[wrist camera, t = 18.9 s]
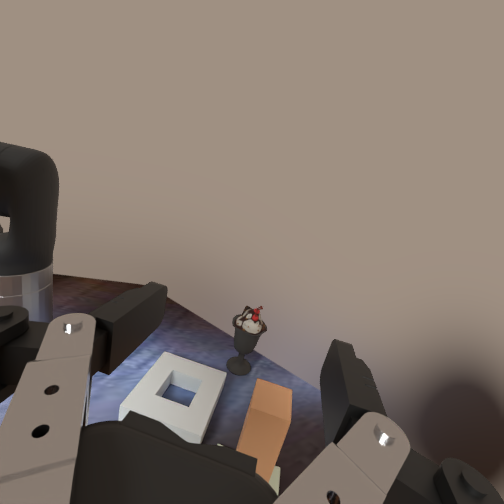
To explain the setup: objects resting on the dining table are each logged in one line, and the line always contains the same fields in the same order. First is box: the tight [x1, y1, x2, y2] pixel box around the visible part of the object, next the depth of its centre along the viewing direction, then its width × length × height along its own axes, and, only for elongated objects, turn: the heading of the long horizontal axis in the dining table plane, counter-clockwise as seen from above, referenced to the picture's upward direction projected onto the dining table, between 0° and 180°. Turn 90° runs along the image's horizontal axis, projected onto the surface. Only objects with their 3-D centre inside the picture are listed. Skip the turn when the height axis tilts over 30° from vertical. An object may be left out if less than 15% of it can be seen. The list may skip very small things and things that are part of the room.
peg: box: [236, 378, 292, 483], centre depth 29 cm, size 4×4×15 cm
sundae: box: [227, 306, 267, 375], centre depth 49 cm, size 7×7×15 cm
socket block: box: [118, 352, 227, 444], centre depth 41 cm, size 12×12×3 cm
